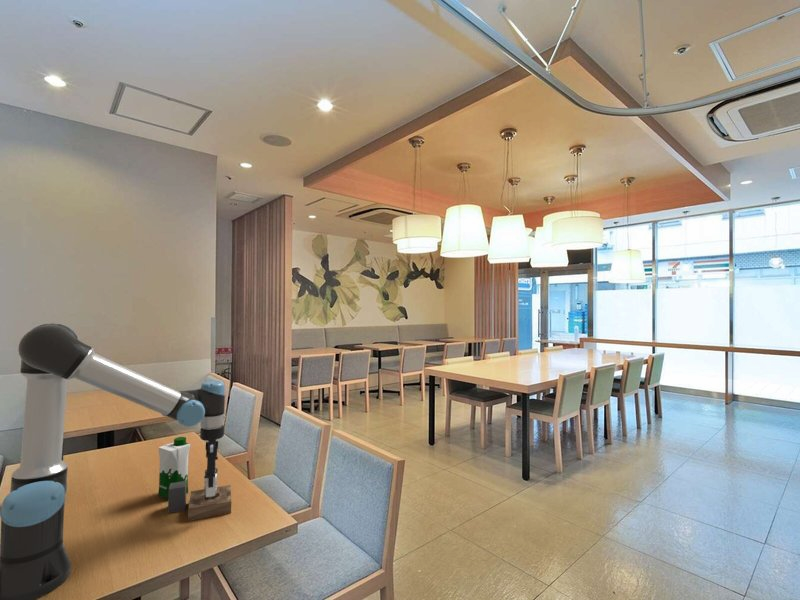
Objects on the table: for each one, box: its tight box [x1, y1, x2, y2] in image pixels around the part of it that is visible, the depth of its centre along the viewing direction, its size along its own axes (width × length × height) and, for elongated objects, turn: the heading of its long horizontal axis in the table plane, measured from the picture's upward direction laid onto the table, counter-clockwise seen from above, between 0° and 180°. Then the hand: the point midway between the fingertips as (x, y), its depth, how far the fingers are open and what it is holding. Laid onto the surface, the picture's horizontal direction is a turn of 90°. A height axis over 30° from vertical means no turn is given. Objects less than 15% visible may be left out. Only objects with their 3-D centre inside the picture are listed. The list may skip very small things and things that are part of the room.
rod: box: [203, 467, 218, 500], centre depth 137 cm, size 4×4×13 cm
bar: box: [167, 481, 187, 514], centre depth 136 cm, size 5×5×8 cm
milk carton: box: [157, 436, 192, 500], centre depth 146 cm, size 9×9×20 cm
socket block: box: [187, 484, 232, 522], centre depth 137 cm, size 13×13×4 cm
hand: (210, 487), depth 137 cm, fingers open, 13 cm apart
